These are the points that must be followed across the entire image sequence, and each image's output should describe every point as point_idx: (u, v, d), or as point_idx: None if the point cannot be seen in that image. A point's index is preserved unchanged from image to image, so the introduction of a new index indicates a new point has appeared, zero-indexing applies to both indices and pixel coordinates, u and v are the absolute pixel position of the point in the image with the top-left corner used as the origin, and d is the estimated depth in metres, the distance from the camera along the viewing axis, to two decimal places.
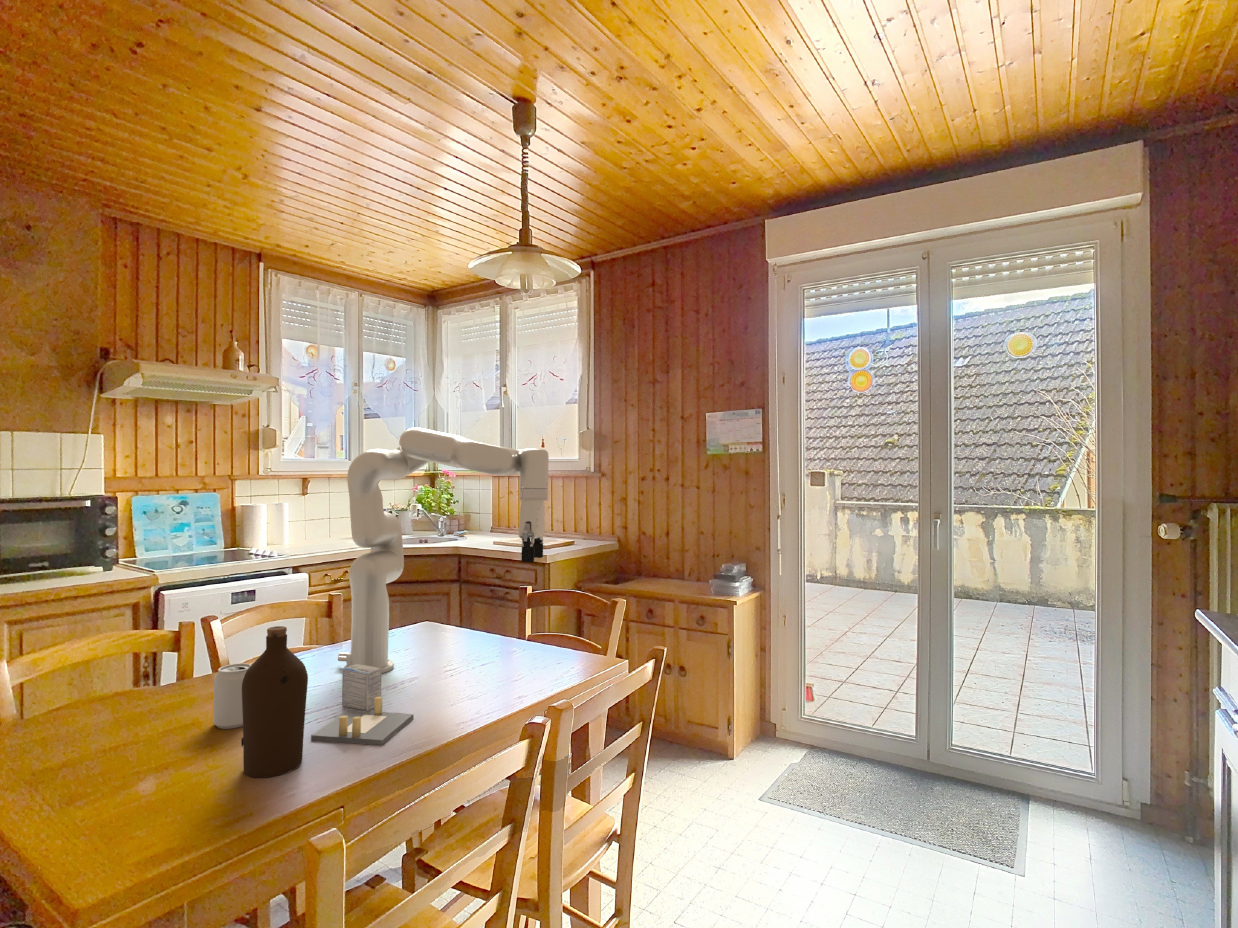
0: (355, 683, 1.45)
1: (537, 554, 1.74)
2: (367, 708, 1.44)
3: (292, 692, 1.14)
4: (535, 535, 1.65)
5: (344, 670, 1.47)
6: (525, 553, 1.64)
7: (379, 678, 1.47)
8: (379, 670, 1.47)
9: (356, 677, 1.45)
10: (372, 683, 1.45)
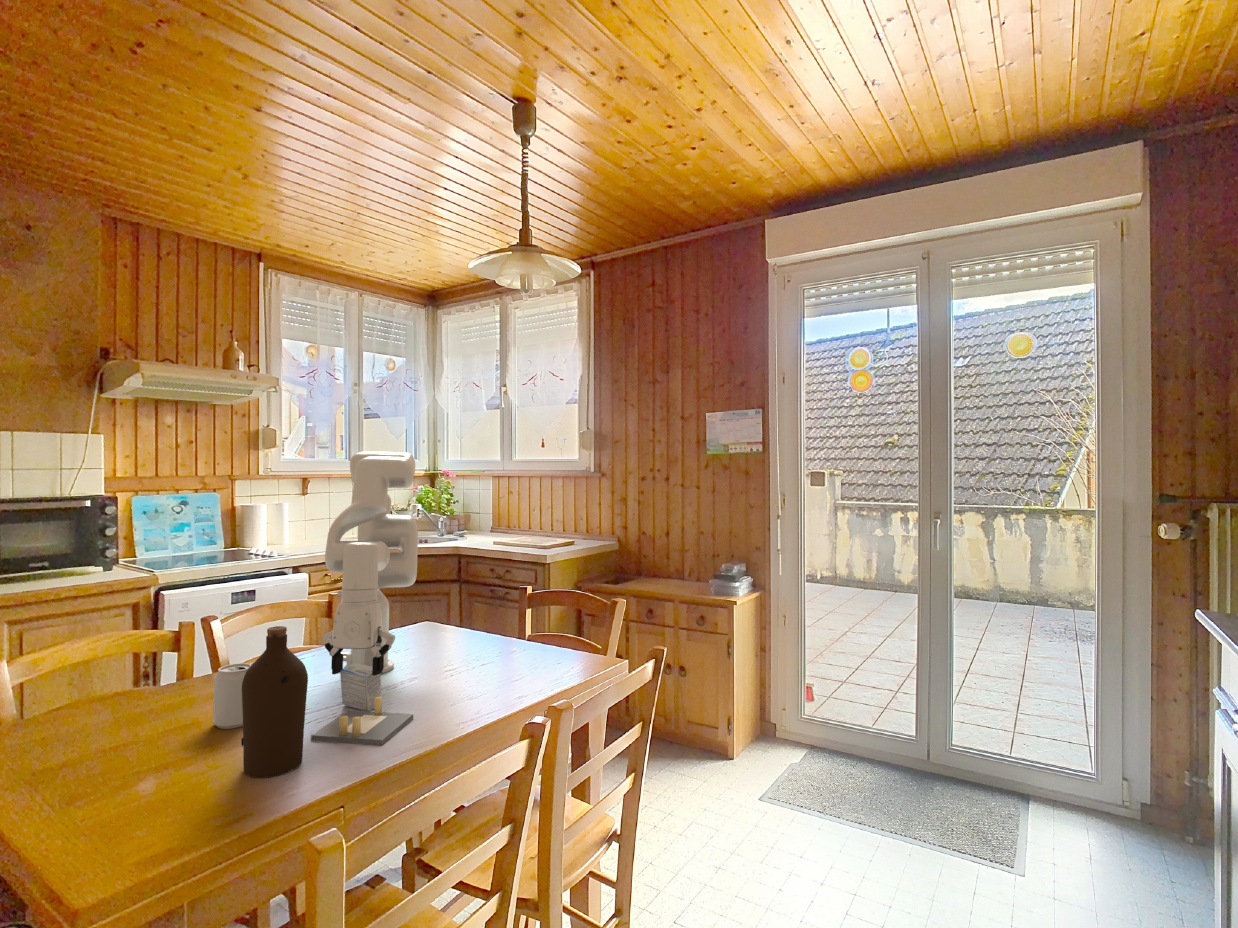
0: (354, 685, 1.44)
1: (339, 668, 1.46)
2: (368, 709, 1.44)
3: (292, 692, 1.14)
4: None
5: (342, 672, 1.45)
6: (380, 663, 1.44)
7: (378, 678, 1.46)
8: None
9: (354, 679, 1.44)
10: (371, 684, 1.44)
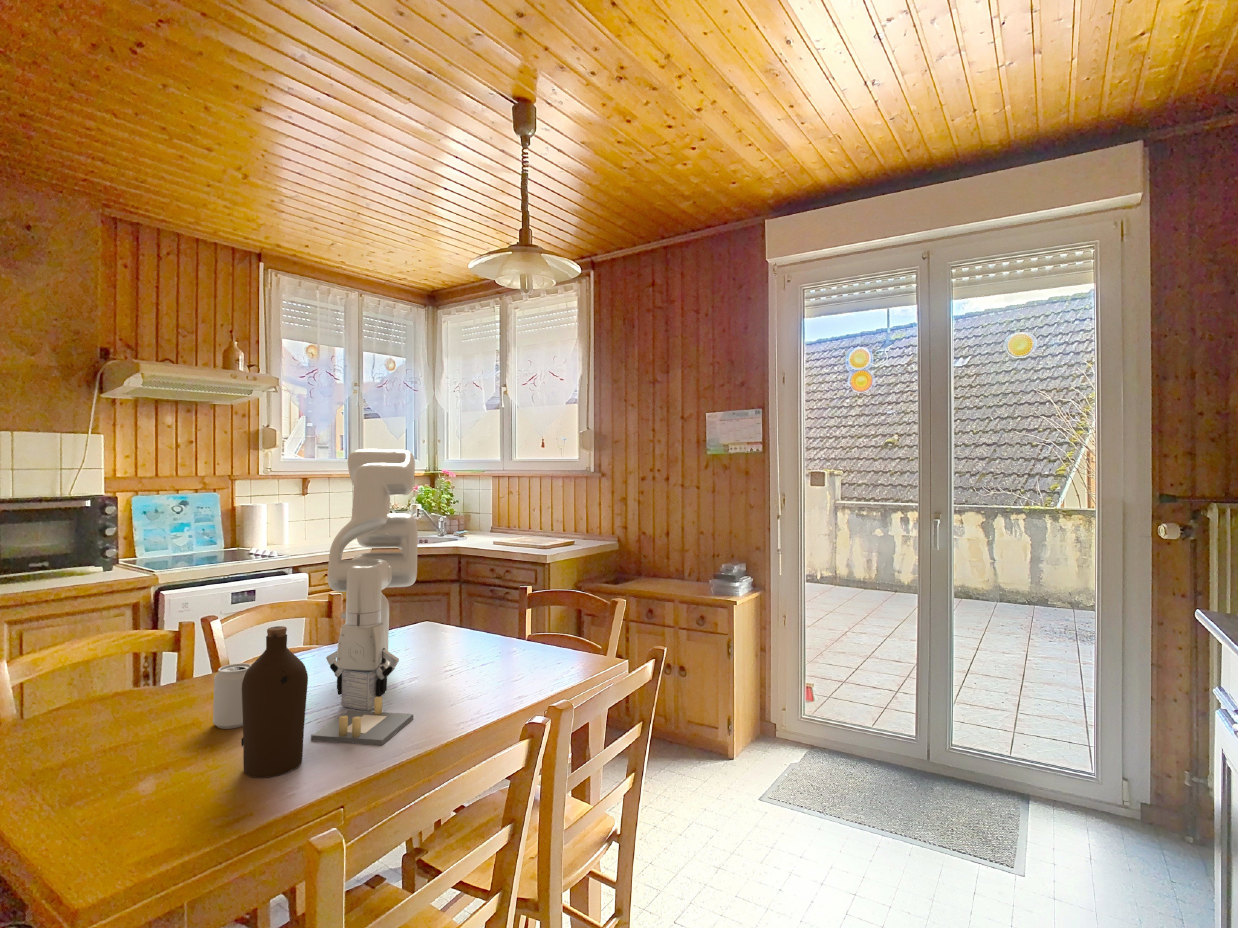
0: (356, 683, 1.45)
1: None
2: (368, 708, 1.44)
3: (292, 692, 1.14)
4: None
5: (344, 670, 1.47)
6: (384, 685, 1.46)
7: None
8: None
9: (356, 677, 1.45)
10: (373, 682, 1.45)
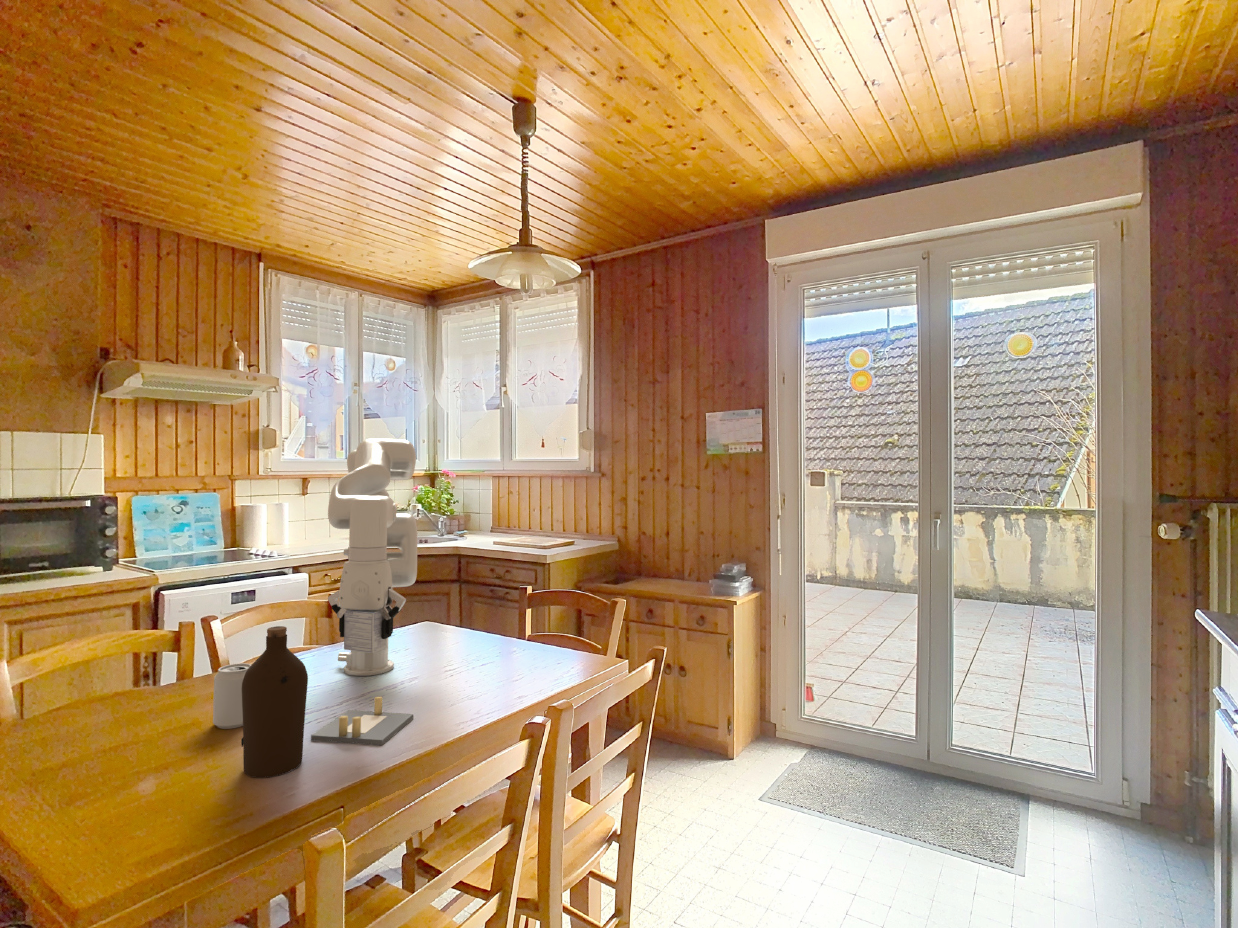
0: (359, 624, 1.34)
1: None
2: (372, 650, 1.33)
3: (292, 692, 1.14)
4: None
5: (346, 611, 1.36)
6: (390, 626, 1.35)
7: None
8: None
9: (360, 617, 1.34)
10: (378, 623, 1.34)
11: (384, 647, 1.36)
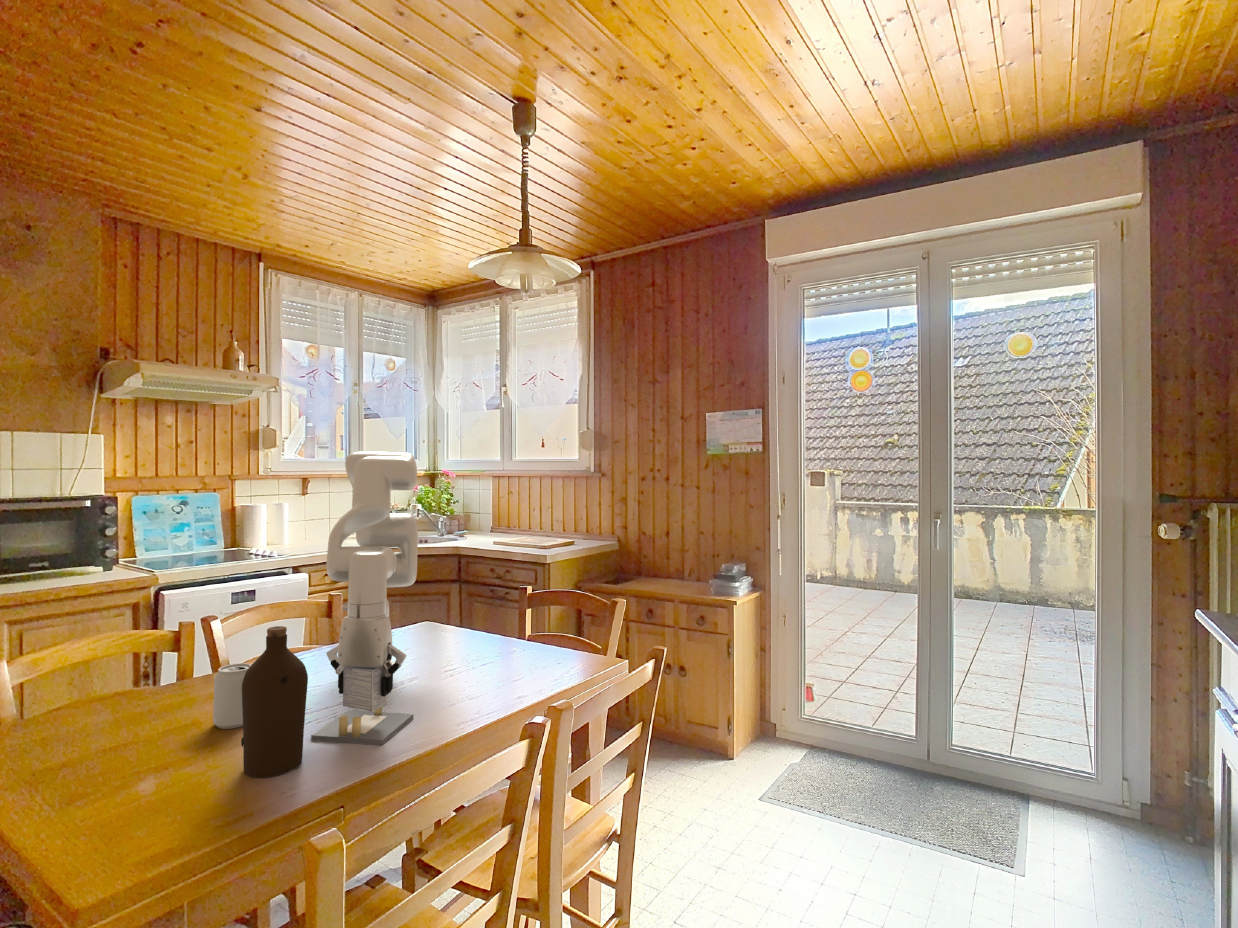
0: (359, 681, 1.32)
1: None
2: (372, 708, 1.31)
3: (292, 692, 1.14)
4: None
5: (345, 667, 1.33)
6: (390, 683, 1.33)
7: None
8: None
9: (359, 674, 1.32)
10: (377, 680, 1.32)
11: (384, 704, 1.34)
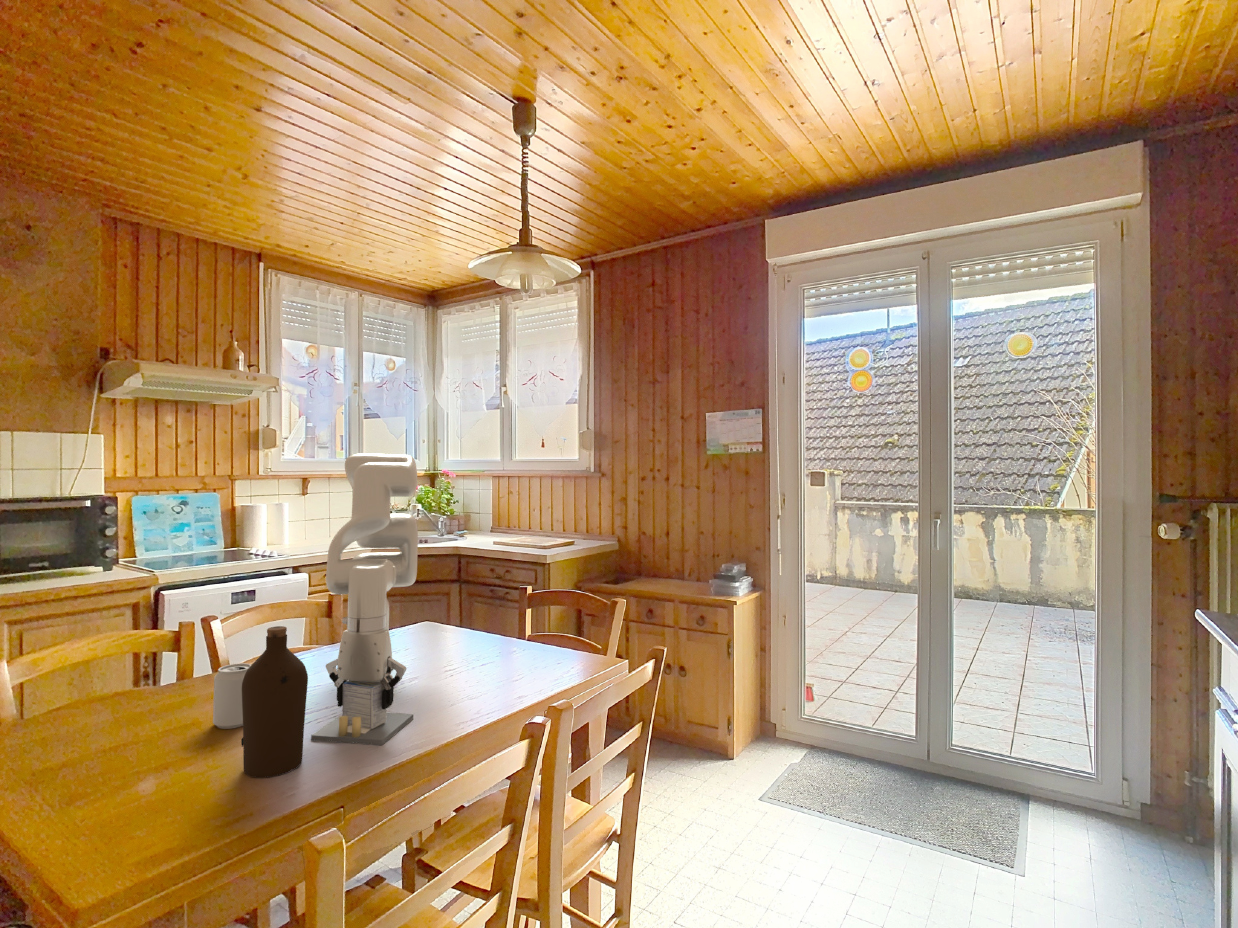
0: (358, 698, 1.32)
1: None
2: (372, 725, 1.31)
3: (292, 692, 1.14)
4: None
5: (345, 684, 1.34)
6: (390, 696, 1.33)
7: None
8: None
9: (359, 692, 1.32)
10: (377, 698, 1.32)
11: (383, 721, 1.34)
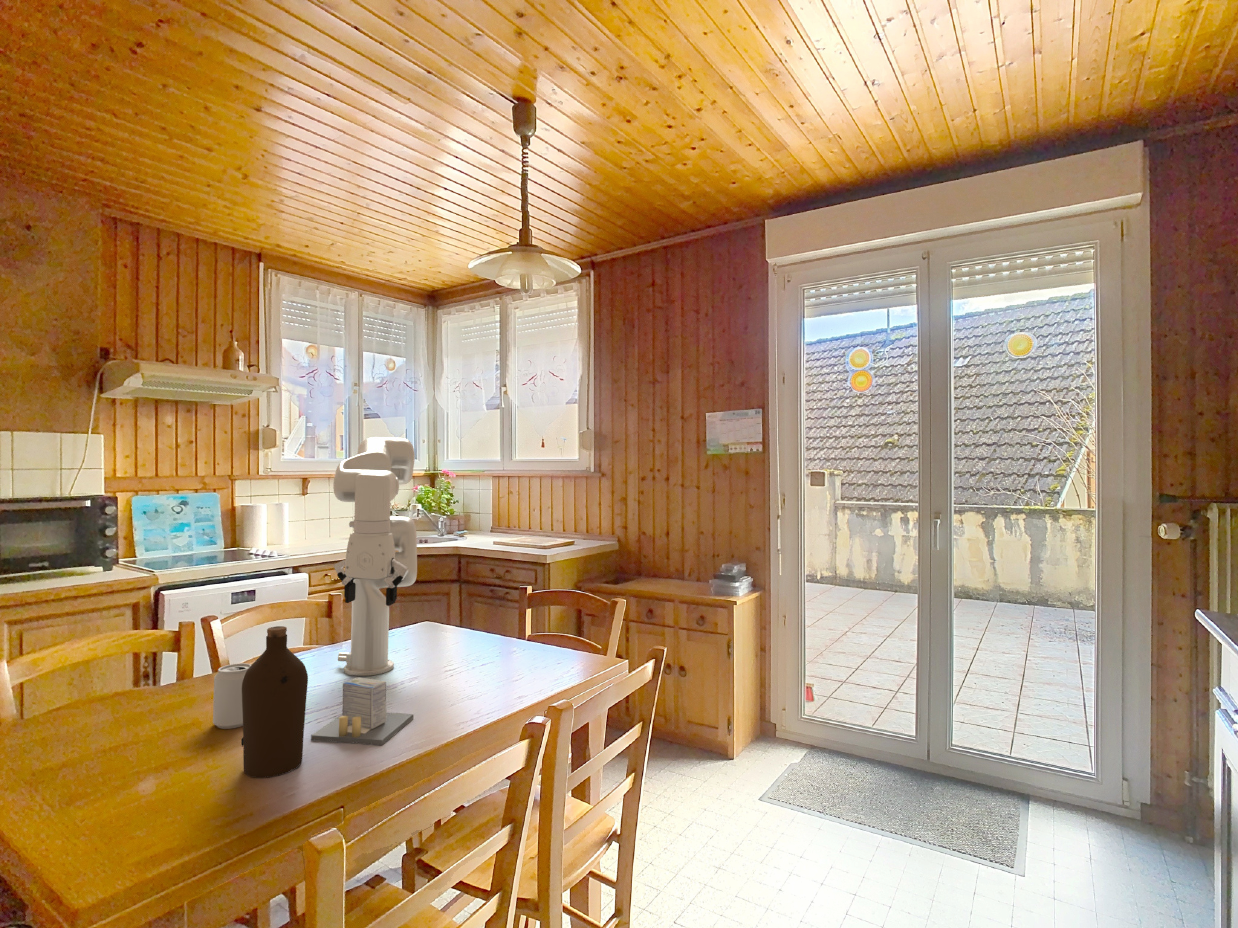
0: (358, 698, 1.32)
1: (352, 597, 1.46)
2: (372, 725, 1.31)
3: (292, 692, 1.14)
4: None
5: (345, 684, 1.34)
6: (394, 594, 1.44)
7: (384, 692, 1.34)
8: (384, 683, 1.34)
9: (359, 692, 1.32)
10: (377, 698, 1.32)
11: (383, 721, 1.34)
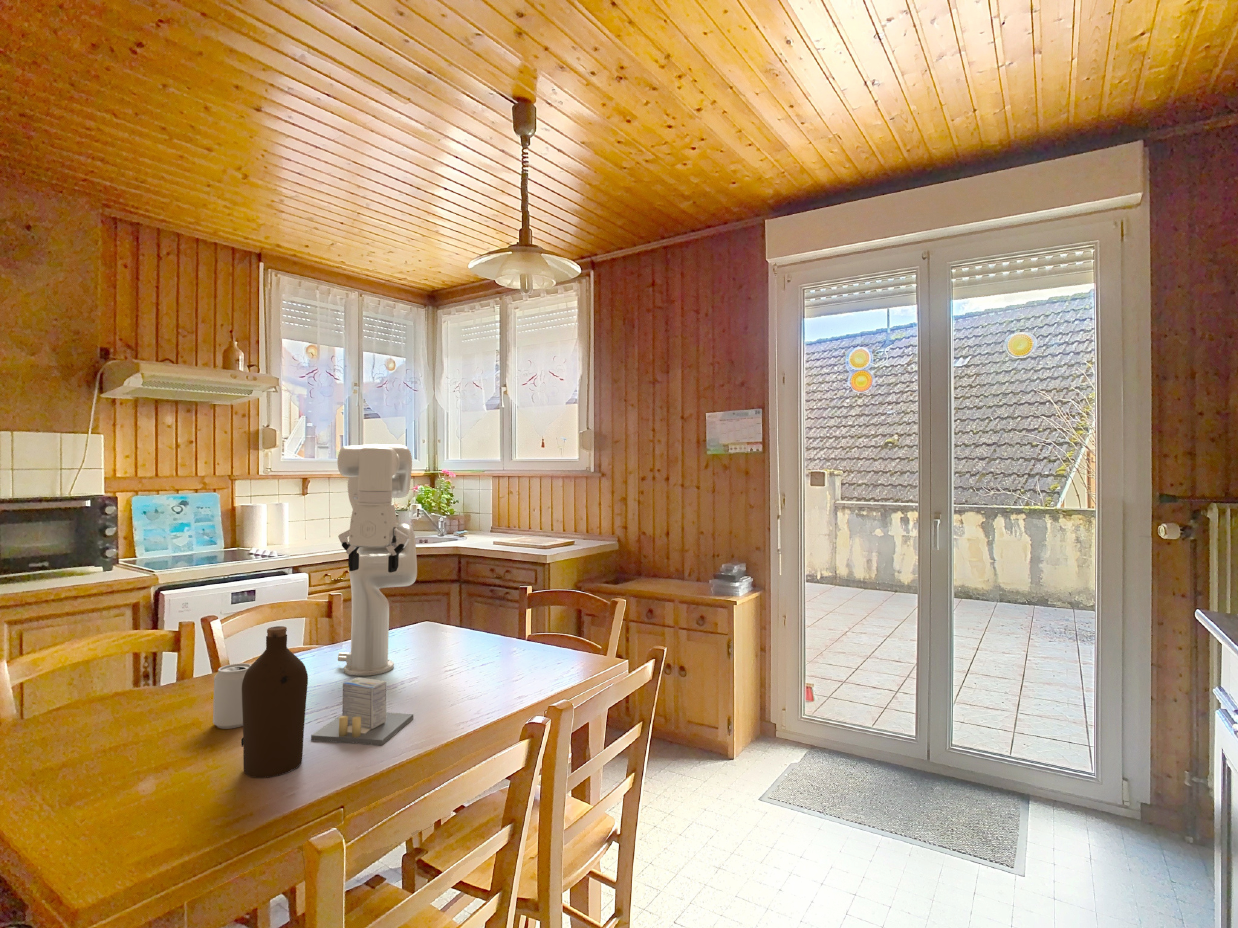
0: (358, 698, 1.32)
1: (356, 566, 1.53)
2: (372, 726, 1.31)
3: (292, 692, 1.14)
4: None
5: (345, 684, 1.34)
6: (396, 562, 1.51)
7: (384, 692, 1.34)
8: (384, 683, 1.34)
9: (359, 692, 1.32)
10: (377, 698, 1.32)
11: (383, 721, 1.34)
